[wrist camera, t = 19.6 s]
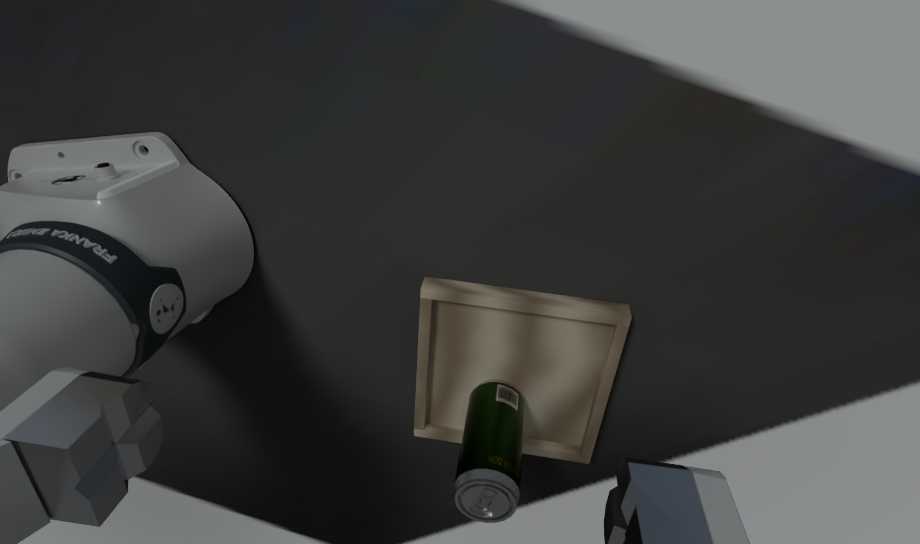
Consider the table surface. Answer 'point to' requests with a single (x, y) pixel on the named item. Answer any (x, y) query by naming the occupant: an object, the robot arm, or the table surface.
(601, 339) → the birch tray
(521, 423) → the beer can
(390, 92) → the table surface
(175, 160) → the robot arm
